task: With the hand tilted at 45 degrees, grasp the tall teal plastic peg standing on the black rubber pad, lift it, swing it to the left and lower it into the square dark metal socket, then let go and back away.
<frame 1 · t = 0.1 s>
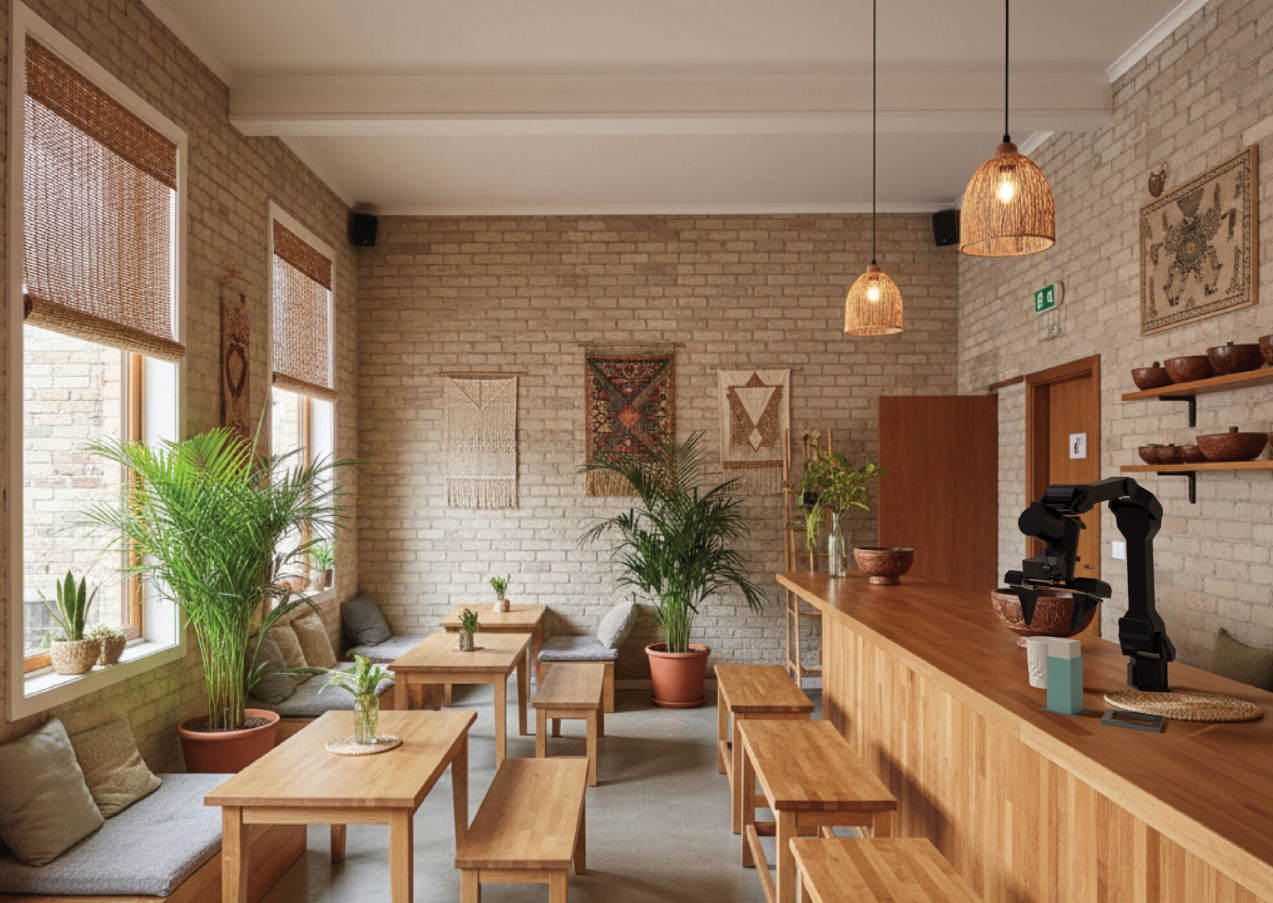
hand: (1049, 628, 165), 15 cm above the table, tool pointing down, fingers open, 9 cm apart
socket: (1132, 725, 156), on the table
peg: (1065, 710, 164), resting on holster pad
white cup: (1047, 688, 183), on the table
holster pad: (1065, 712, 164), on the table
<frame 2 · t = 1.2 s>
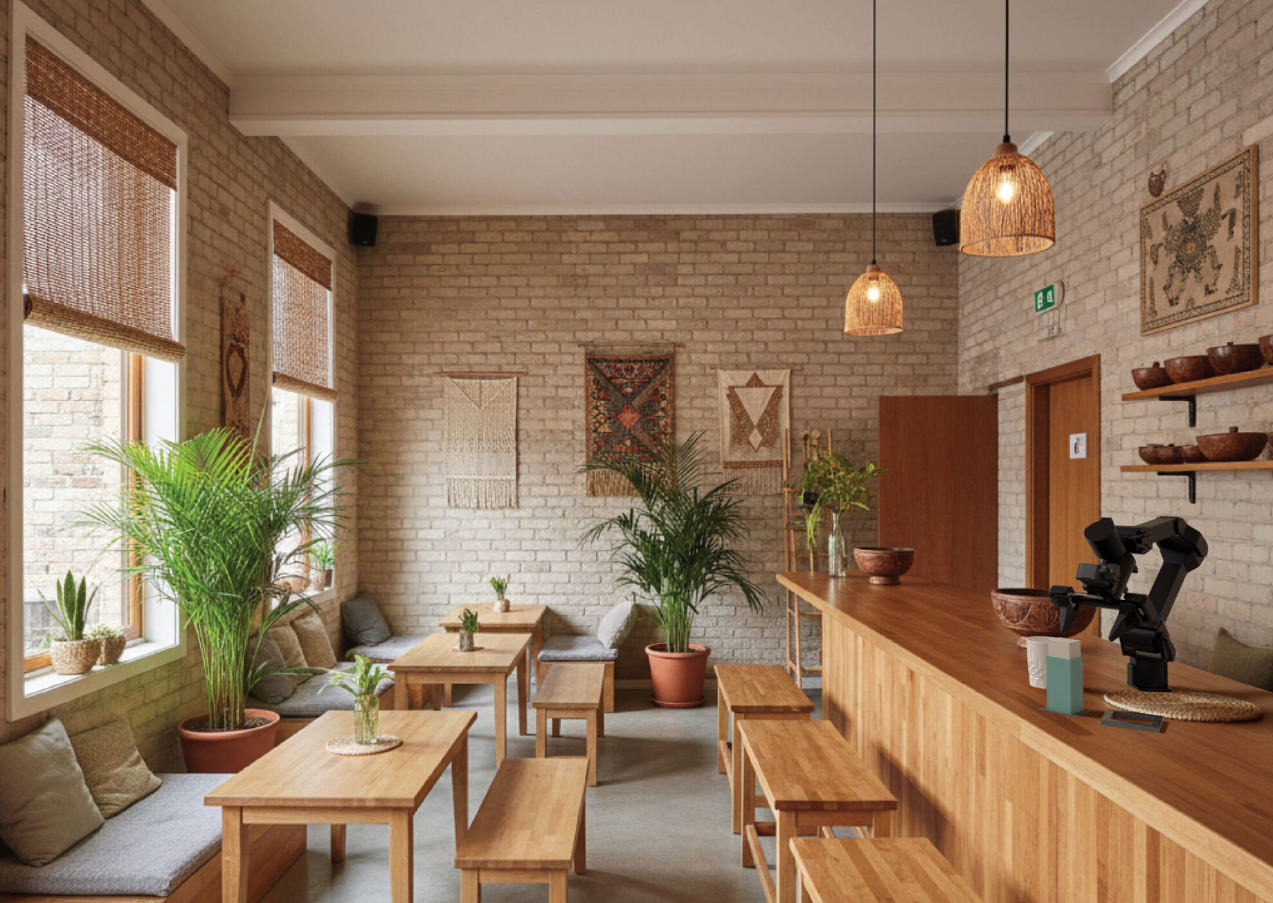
hand: (1085, 636, 169), 13 cm above the table, tool tilted 45°, fingers open, 9 cm apart
nothing on the table moved.
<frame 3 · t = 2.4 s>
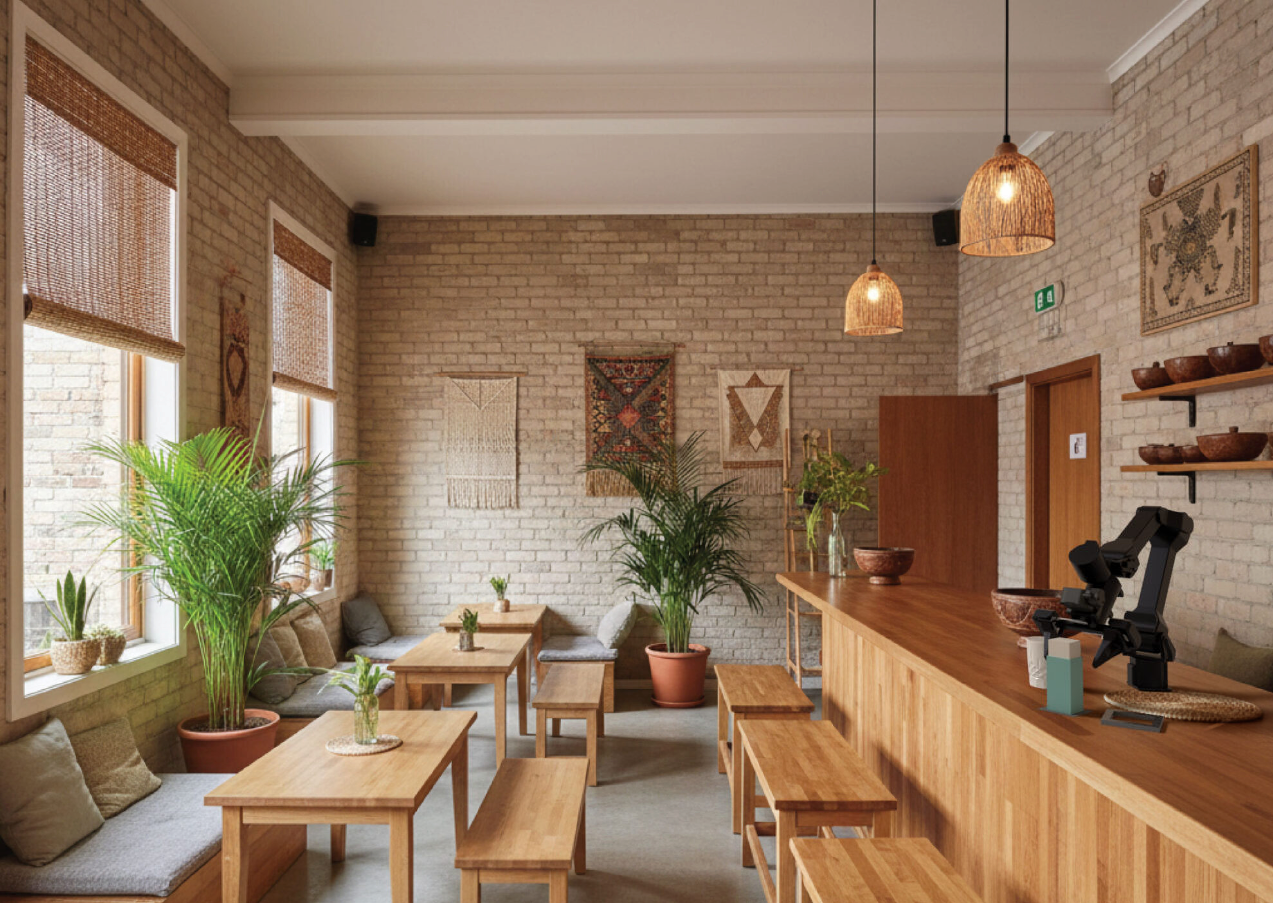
hand: (1069, 662, 165), 9 cm above the table, tool tilted 45°, fingers open, 9 cm apart
nothing on the table moved.
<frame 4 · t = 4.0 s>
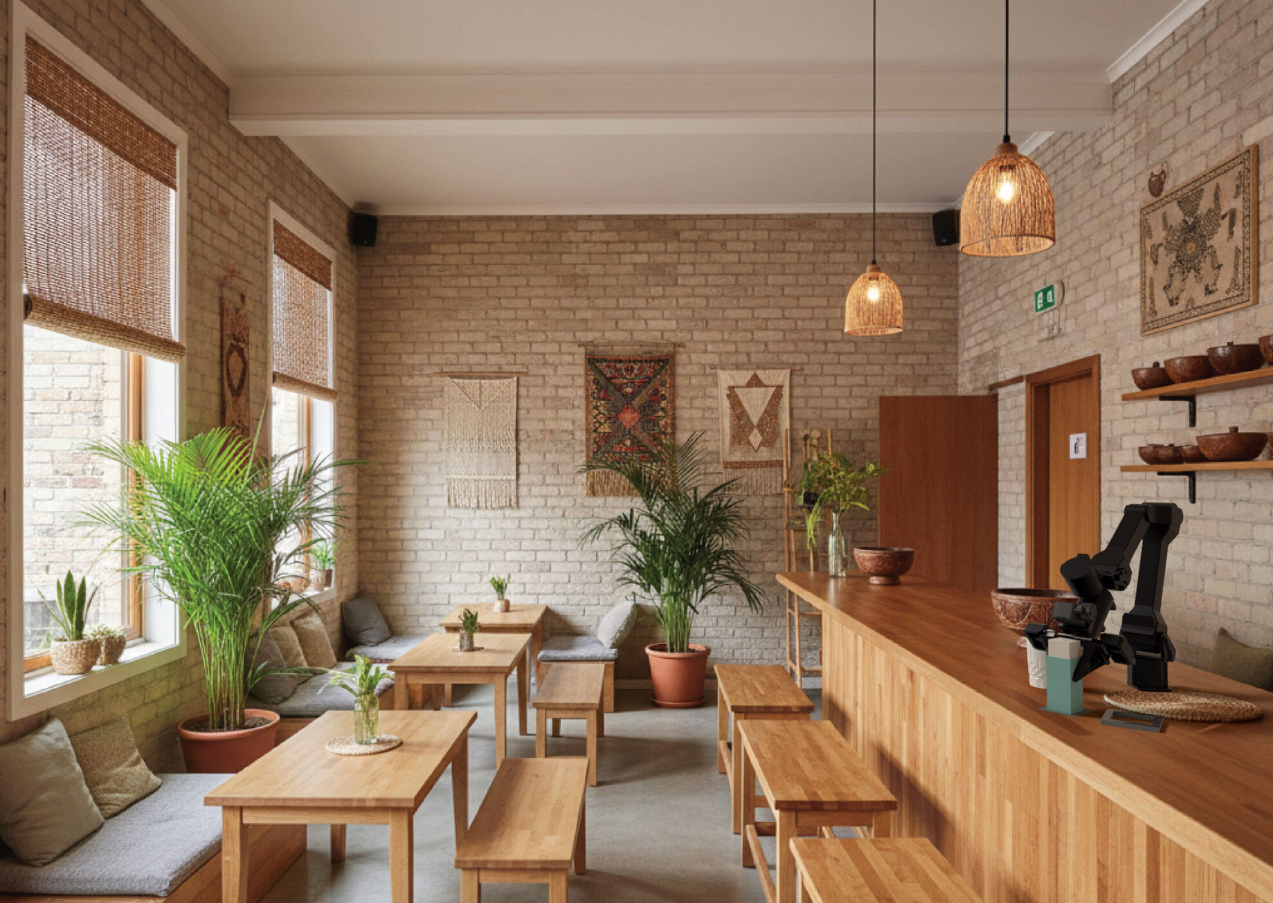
hand: (1060, 678, 163), 7 cm above the table, tool tilted 45°, fingers closed on peg, 4 cm apart
peg: (1065, 710, 164), resting on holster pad, touching gripper
everything else where it was.
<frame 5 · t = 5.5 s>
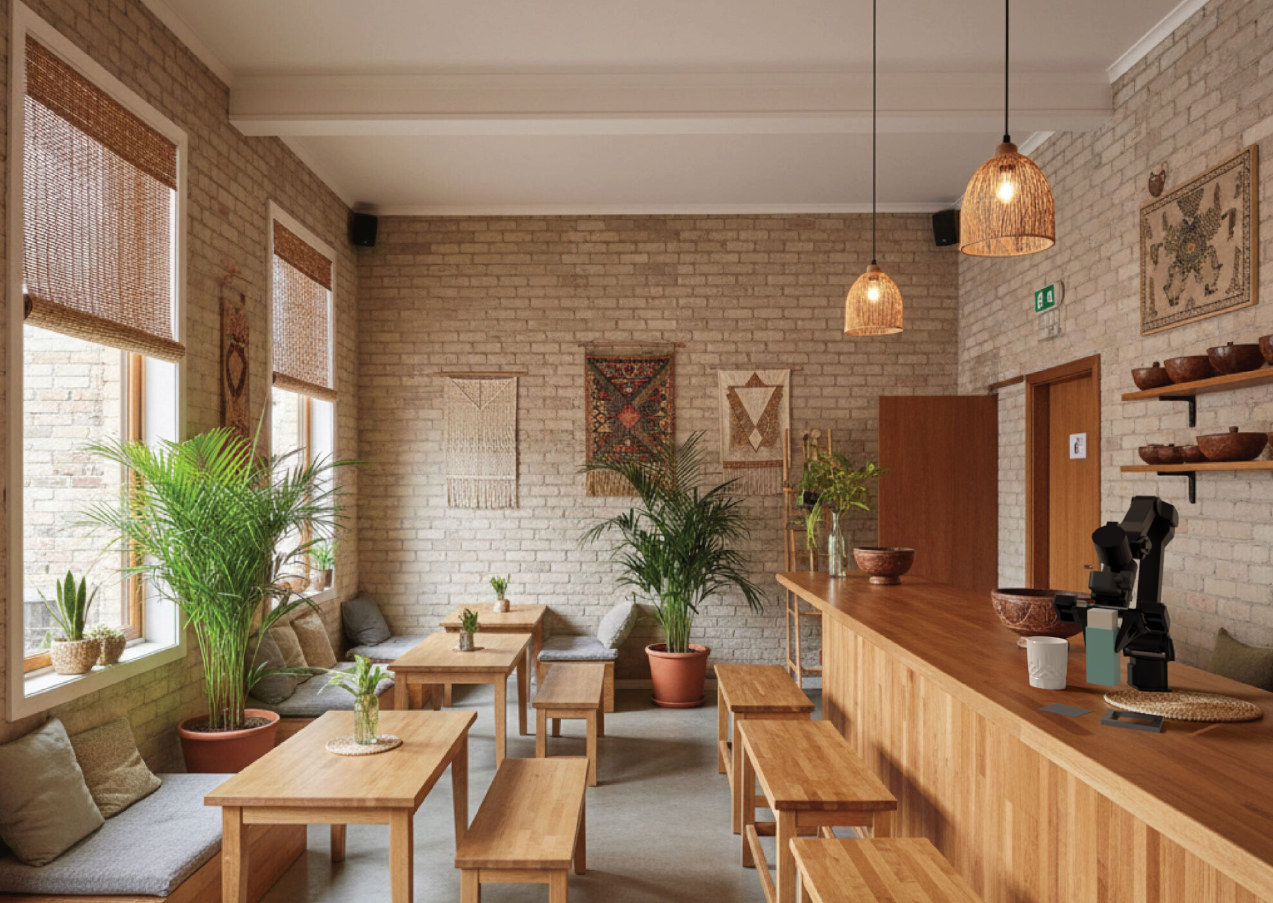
hand: (1101, 649, 158), 13 cm above the table, tool tilted 45°, fingers closed on peg, 4 cm apart
peg: (1103, 682, 159), point 7 cm above the table, touching gripper
everything else where it was.
when the fingers open (8 cm above the table, at t = 7.2 s): peg drops 2 cm, resting on socket.
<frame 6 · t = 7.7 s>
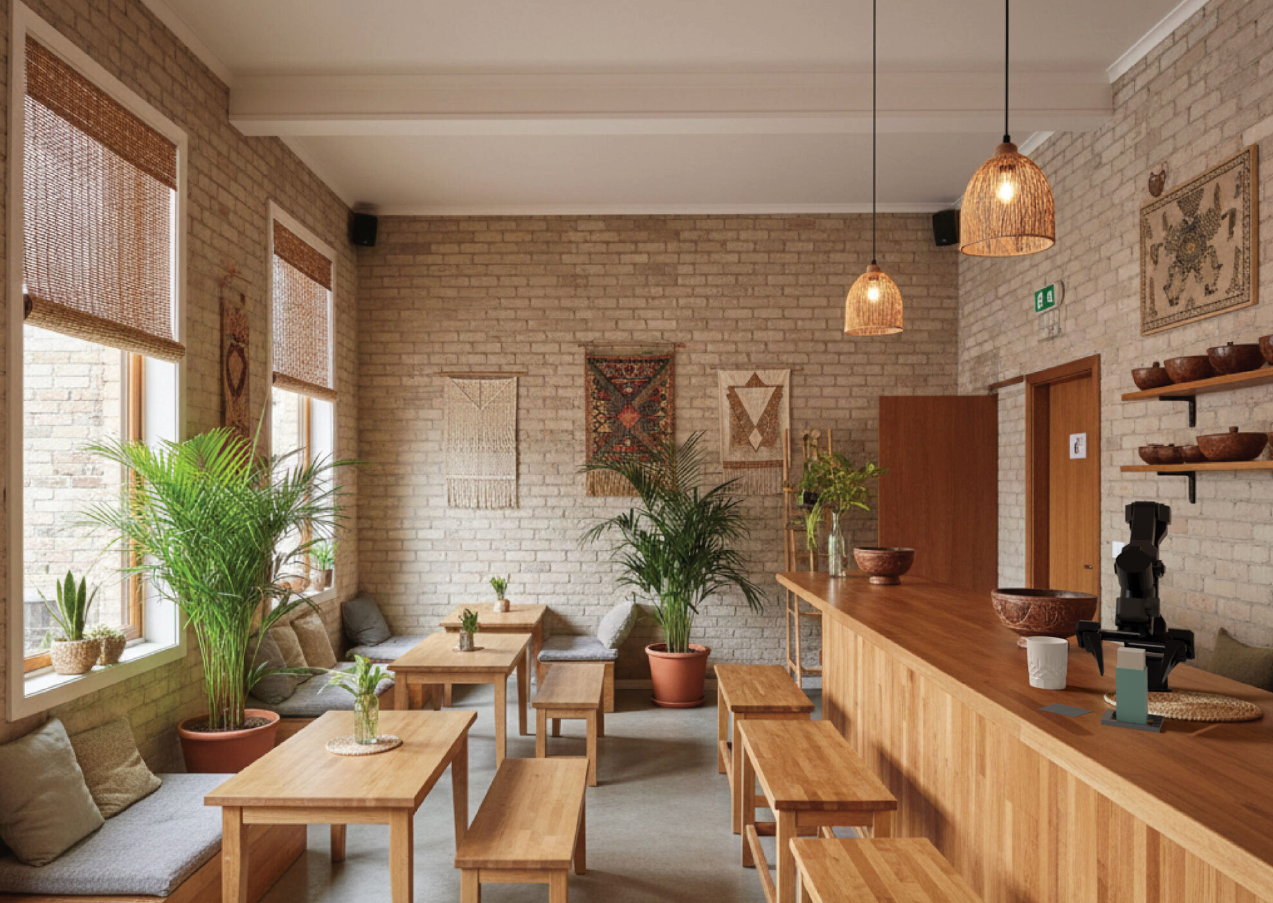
hand: (1130, 678, 155), 9 cm above the table, tool tilted 45°, fingers open, 9 cm apart
peg: (1132, 723, 155), resting on socket
everything else where it was.
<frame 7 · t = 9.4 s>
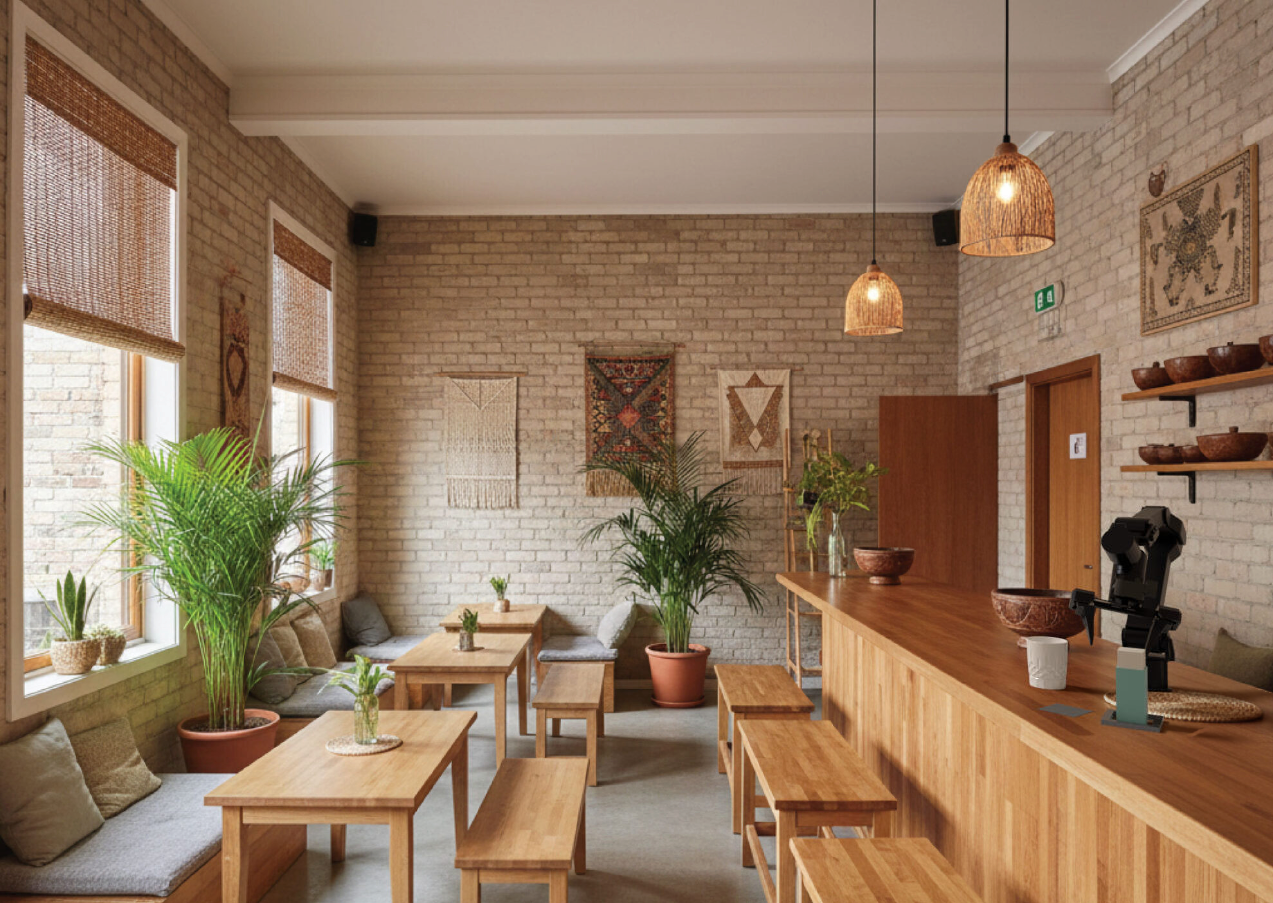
hand: (1118, 651, 167), 11 cm above the table, tool tilted 30°, fingers open, 9 cm apart
nothing on the table moved.
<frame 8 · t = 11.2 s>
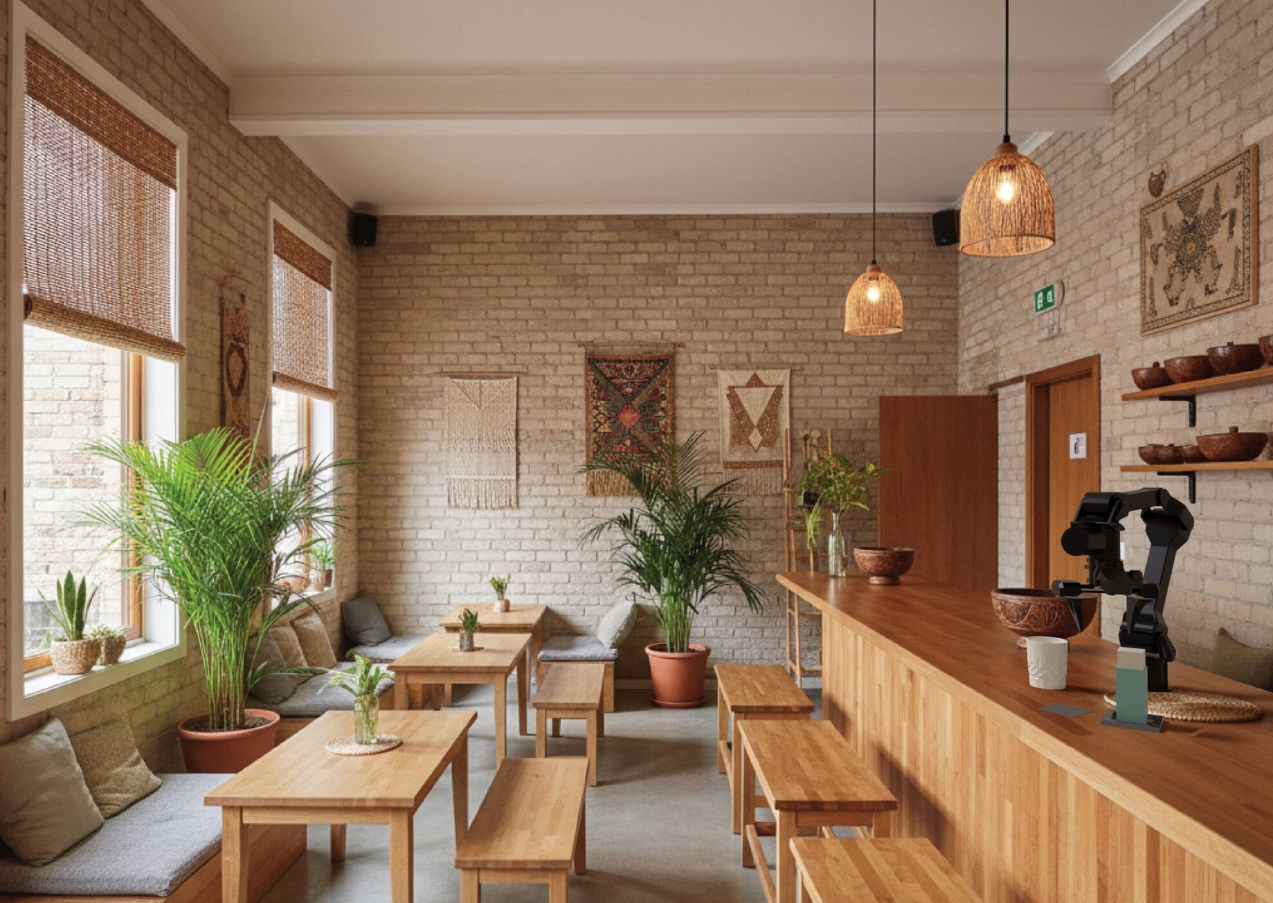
hand: (1105, 632, 175), 13 cm above the table, tool pointing down, fingers open, 9 cm apart
nothing on the table moved.
at the end: peg 0.0 cm off-centre on the socket, point 0.3 cm above the socket's base; peg tilted 0°; the gripper is holding nothing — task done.
